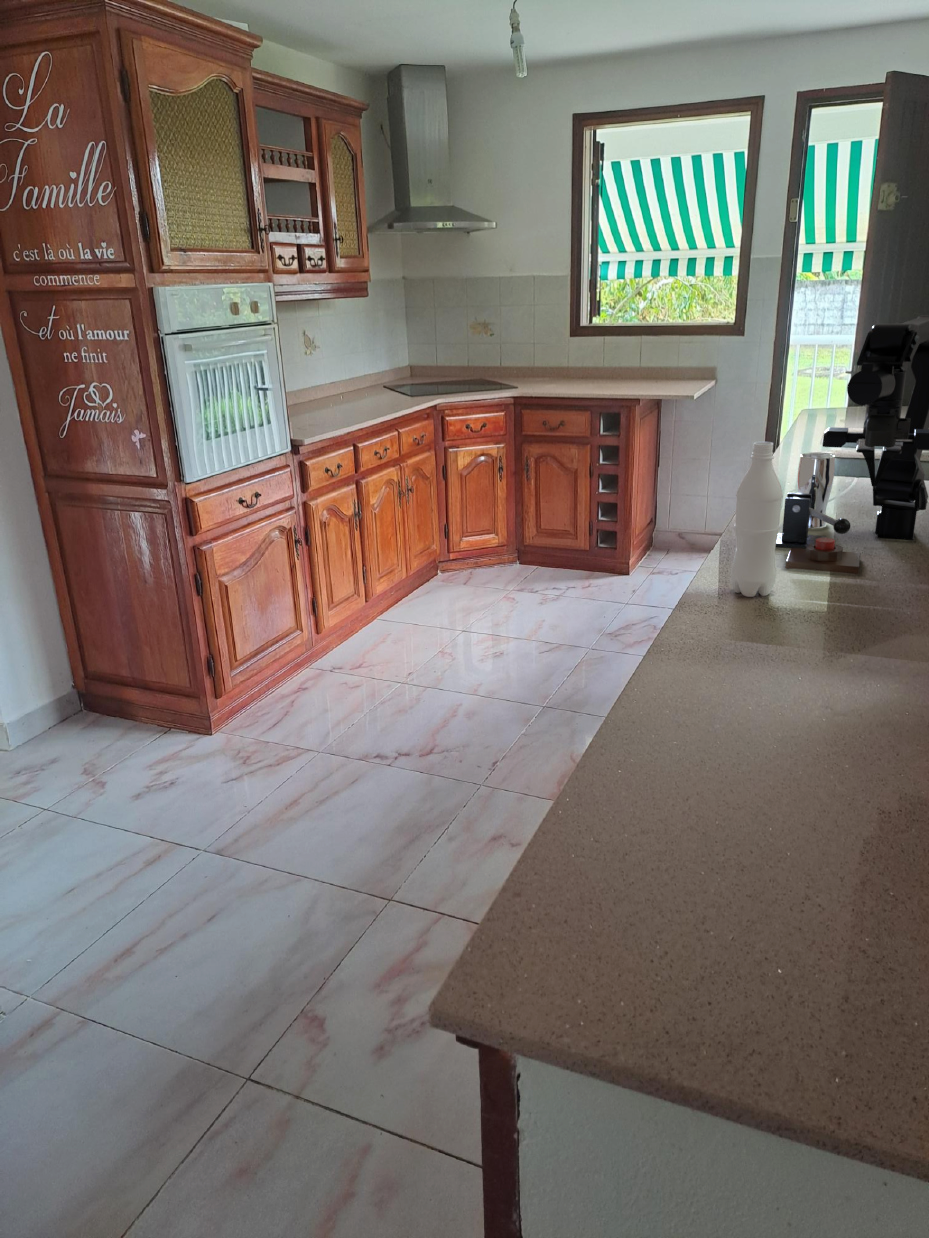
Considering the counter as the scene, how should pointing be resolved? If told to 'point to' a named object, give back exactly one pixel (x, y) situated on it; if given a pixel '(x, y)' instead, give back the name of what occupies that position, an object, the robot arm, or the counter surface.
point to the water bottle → (757, 525)
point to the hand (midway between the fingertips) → (874, 486)
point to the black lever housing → (796, 523)
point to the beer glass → (816, 482)
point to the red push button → (825, 544)
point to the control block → (823, 559)
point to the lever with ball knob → (831, 521)
